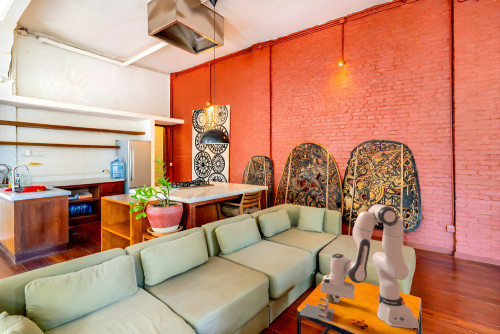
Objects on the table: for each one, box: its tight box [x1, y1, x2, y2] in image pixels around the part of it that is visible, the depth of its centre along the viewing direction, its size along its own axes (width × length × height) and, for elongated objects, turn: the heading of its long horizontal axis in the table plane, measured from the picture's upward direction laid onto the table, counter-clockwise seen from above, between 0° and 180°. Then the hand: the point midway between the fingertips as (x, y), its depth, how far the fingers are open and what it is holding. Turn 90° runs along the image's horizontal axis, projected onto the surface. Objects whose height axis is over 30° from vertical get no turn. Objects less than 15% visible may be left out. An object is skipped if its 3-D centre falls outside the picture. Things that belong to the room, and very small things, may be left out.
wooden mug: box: [325, 276, 346, 304], centre depth 180 cm, size 9×14×18 cm, turn 72°
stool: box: [317, 297, 329, 318], centre depth 165 cm, size 6×8×8 cm
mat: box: [299, 303, 335, 323], centre depth 167 cm, size 20×14×1 cm
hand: (336, 301), depth 162 cm, fingers closed
